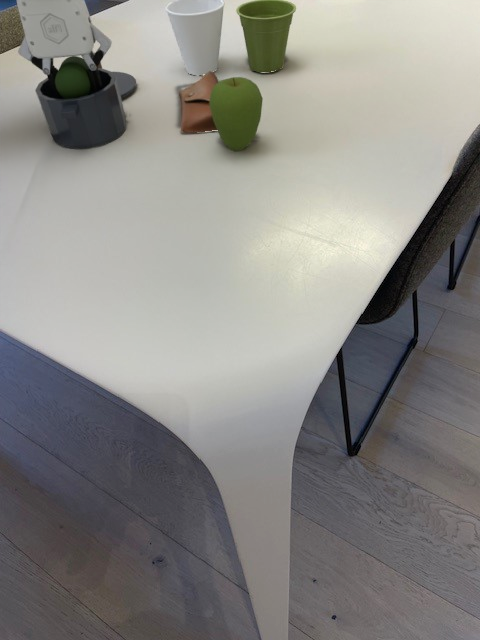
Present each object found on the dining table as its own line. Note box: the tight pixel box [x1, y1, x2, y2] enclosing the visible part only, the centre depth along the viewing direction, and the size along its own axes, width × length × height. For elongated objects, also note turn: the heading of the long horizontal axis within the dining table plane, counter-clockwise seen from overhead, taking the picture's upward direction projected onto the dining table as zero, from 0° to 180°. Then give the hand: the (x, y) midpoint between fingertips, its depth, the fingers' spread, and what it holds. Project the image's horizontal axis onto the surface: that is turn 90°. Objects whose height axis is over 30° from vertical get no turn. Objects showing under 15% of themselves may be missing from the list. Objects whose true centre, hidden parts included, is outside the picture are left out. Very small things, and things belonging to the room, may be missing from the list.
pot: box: [34, 67, 128, 150], centre depth 88 cm, size 14×19×8 cm
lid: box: [94, 52, 137, 99], centre depth 100 cm, size 15×15×7 cm
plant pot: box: [235, 0, 297, 73], centre depth 102 cm, size 12×12×11 cm
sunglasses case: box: [178, 71, 219, 134], centre depth 92 cm, size 18×7×7 cm
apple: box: [209, 76, 264, 152], centre depth 79 cm, size 9×8×12 cm
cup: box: [164, 0, 225, 76], centre depth 103 cm, size 12×12×12 cm
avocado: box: [55, 56, 91, 99], centre depth 84 cm, size 10×6×6 cm, turn 3°
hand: (78, 92), depth 86 cm, fingers closed on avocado, 5 cm apart
